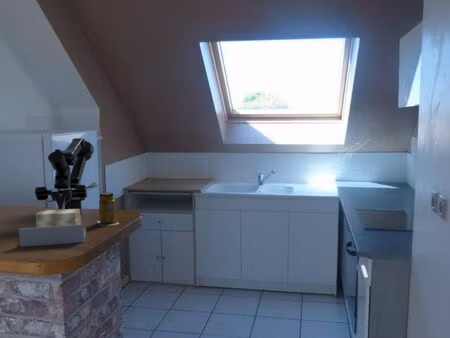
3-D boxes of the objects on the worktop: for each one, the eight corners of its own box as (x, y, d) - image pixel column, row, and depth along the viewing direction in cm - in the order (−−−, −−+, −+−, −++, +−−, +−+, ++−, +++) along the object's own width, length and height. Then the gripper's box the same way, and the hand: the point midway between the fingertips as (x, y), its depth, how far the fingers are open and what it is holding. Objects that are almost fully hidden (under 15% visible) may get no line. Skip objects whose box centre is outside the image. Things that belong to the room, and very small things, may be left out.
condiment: (114, 219, 182) (113, 191, 181) (119, 224, 175) (118, 194, 173) (96, 222, 179) (95, 192, 177) (100, 226, 171) (99, 196, 170)
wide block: (81, 229, 168) (80, 208, 167) (76, 234, 162) (75, 213, 161) (43, 230, 168) (42, 209, 167) (37, 235, 161) (35, 214, 160)
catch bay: (27, 237, 158) (26, 221, 157) (87, 233, 162) (86, 217, 161) (20, 246, 147) (18, 229, 146) (84, 242, 151) (83, 224, 151)
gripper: (88, 188, 186) (88, 220, 177) (41, 190, 182) (38, 223, 173) (86, 172, 178) (85, 204, 168) (36, 174, 174) (32, 207, 164)
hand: (60, 210), depth 169 cm, fingers closed
